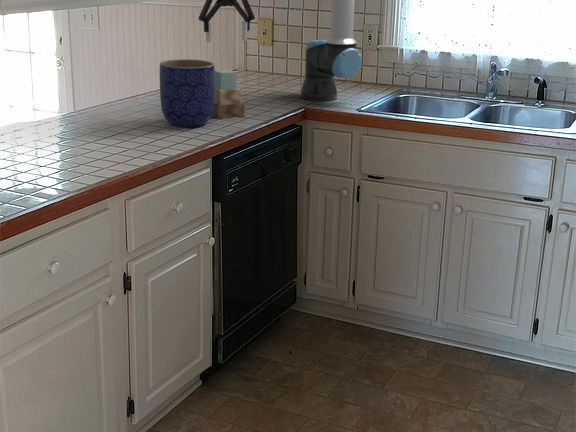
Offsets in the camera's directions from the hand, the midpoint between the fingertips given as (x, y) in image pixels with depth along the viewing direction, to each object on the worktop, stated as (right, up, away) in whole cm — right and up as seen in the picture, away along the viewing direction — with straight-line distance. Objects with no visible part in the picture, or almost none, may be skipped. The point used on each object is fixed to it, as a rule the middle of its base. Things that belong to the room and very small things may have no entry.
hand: (226, 41), depth 285 cm
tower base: (-1, -25, +8) cm, 27 cm away
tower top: (-1, -21, +6) cm, 22 cm away
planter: (-13, -30, -7) cm, 33 cm away
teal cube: (-1, -16, +5) cm, 17 cm away
